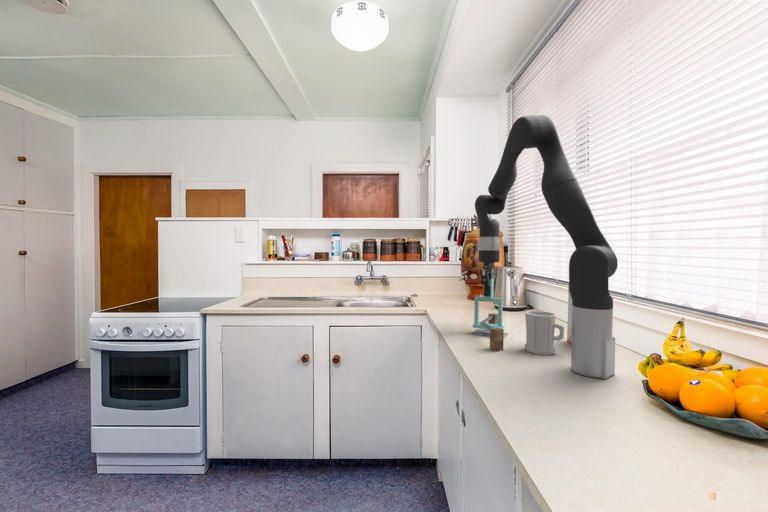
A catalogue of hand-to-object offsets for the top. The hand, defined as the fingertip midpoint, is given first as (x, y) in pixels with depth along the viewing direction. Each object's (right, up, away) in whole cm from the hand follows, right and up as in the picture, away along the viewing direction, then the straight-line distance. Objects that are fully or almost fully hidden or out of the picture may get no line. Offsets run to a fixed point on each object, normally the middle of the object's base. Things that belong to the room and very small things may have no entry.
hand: (488, 295), depth 131 cm
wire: (+1, -9, -6) cm, 11 cm away
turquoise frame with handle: (0, -12, 0) cm, 12 cm away
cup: (+11, -16, -20) cm, 28 cm away
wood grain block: (+1, -15, -6) cm, 16 cm away
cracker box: (+27, -15, -15) cm, 34 cm away
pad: (+1, -15, +2) cm, 15 cm away
